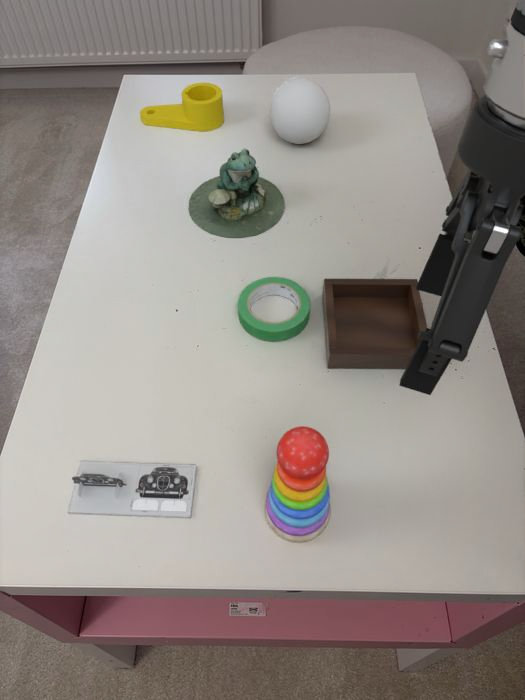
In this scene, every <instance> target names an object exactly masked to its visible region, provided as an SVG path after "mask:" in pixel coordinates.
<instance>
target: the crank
mask: <svg viewBox="0 0 525 700" xmlns="http://www.w3.org/2000/svg"><path fill="white" fill-rule="evenodd" d="M181 101H182V103H172V104H159V105H158V104H157V105H148V106H145V107H143V108H141V109H140V111H139V115H140V120H141V123H142V124H143V125H145V126H150V127H151V126H152V127H160V128H167V129H168V128H169V129H177V130H185V131H186V130H187V131H195V132H210V131H214V130H217V129H219V128H220V127H222V125H223V124H224V122H225V115H224V101H223V91H222V88H221V87H220V86H218V85H217V84H216V83H215V84H214V83H210V82H195V83H192V84H190V85H187V86H186V87H184V88H183V89H182V90H181Z"/></svg>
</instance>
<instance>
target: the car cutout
mask: <svg viewBox="0 0 525 700" xmlns="http://www.w3.org/2000/svg"><path fill="white" fill-rule="evenodd" d="M197 469H198V466H197V464H179V463H178V464H177V463H176V464H175V463H148V462H146V463H145V462H115V461H92V460H91V461H89V460H87V461H86V460H81V461H79V466H78V471H77V473H76V474H77V475H75V476H72V477H71V479H72V480H71V481H73V482H72V483H73V484H74V486H73V490H72V494H71V498H70V502H69V505H68V509H67V513H68V515H69V514H71V515H92V516H94V515H96V516H119V517H120V516H121V517H146V518H147V517H149V518H171V519H172V518H173V519H174V518H176V519H191V518H192V511H193V502H194V495H195V487H196V478H197Z"/></svg>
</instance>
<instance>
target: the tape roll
mask: <svg viewBox="0 0 525 700" xmlns="http://www.w3.org/2000/svg"><path fill="white" fill-rule="evenodd" d="M267 296H281V297H284V298H286V299H288V300H290V301H291V302H292V303H293V304H294V305H295V306H296V308H297V311H296V312H295V313H294V315H292V316H290V317H289V318H287V319H285V320H281V321H275V322H273V321H272V322H271V321H266V320H263V319H260V318H258V317H257V316H256V315H255V314H254V313H253V311H252V310H251V309H252V307H253V305H254V304H255V303H256V302H257V301H259V300H260V299H262V298H264V297H267ZM310 311H311V300H310V296H309V294H308V292H307V291H306V290H305V289H304V288H303V286H302V285H300V284H299V283H298V282H296V281H295V280H292V279H290V278H286V277H281V276H267V277H262V278H258V279H256V280H254V281H251V282H250V283H249V284H248V285H246V286H245V288H243V290H241V292H240V294H239V297H238V300H237V313H238V319H239V323H240V326H242V328H243V329H244V331H245V332H247V333H248V334H249V335H250V336H252V337H254V338H256V339H258V340H261V341H266V342H282V341H287V340H290V339H292V338H294V337H296V336H297V335H299V334H300V333H302V332H303V331H304V329H305V328H306V326H307V325H308V322H309V320H310Z"/></svg>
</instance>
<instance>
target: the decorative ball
mask: <svg viewBox="0 0 525 700" xmlns="http://www.w3.org/2000/svg"><path fill="white" fill-rule="evenodd" d="M269 117H270V122H271V125H272V127H273V129H274V131H275V132H276V134H277V135H278V136H279V137H280V138H281V139H282V140H285V141H287V142H288V143H290V144H294V145H295V144H296V145H303V144H307V143H310V142H313V141H314V140H316V139H317V138H319V137H320V136H321V135H322V134H323V133H324V131H325V129H326V128H327V126H328V123H329V121H330V117H331V103H330V99H329V96H328V93H327V91H326V90H325V89H324V88H323V86H322V85H321V84H320V83H318V82H317V81H315V80H314V79H312V78H308V77H303V76H291V77H289V78H286V79H285V80H284V81H283V83H282V84H280V85H279V86H278V87H277V88H276V90H274V93H273V94H272V97H271V101H270V106H269Z"/></svg>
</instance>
